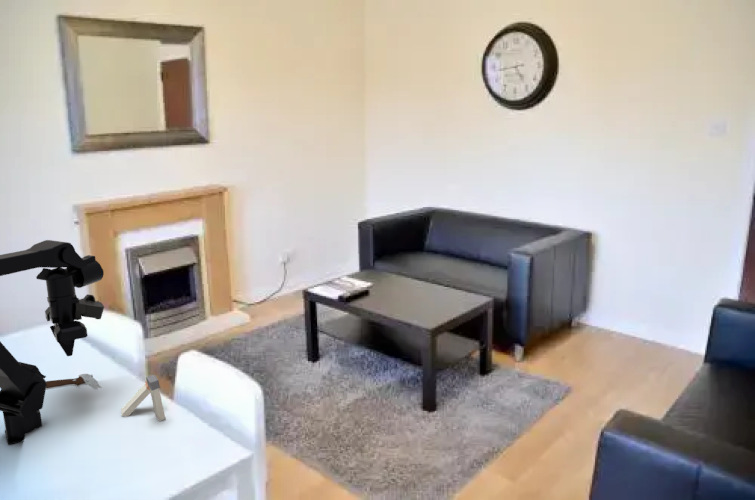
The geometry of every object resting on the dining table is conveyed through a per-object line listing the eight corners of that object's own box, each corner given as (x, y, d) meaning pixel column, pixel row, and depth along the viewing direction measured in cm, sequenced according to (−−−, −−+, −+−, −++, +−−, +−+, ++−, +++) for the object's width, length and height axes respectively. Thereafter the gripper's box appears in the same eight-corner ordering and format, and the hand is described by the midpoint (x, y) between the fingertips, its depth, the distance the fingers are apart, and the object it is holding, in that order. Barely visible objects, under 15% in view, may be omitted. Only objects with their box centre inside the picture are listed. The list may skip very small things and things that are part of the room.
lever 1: (120, 415, 138) (152, 381, 140) (120, 408, 141) (151, 375, 143) (127, 419, 139) (158, 385, 140) (126, 412, 142) (157, 379, 143)
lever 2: (158, 422, 137) (150, 382, 134) (154, 415, 140) (145, 377, 137) (166, 419, 138) (158, 379, 135) (162, 412, 141) (153, 374, 138)
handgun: (70, 418, 139) (121, 398, 147) (36, 382, 154) (84, 366, 162) (71, 427, 139) (122, 408, 148) (37, 390, 154) (85, 375, 163)
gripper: (107, 298, 137) (114, 361, 141) (91, 277, 152) (97, 335, 156) (53, 307, 131) (61, 373, 135) (41, 285, 145) (49, 345, 149)
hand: (69, 355), depth 144 cm, fingers closed
